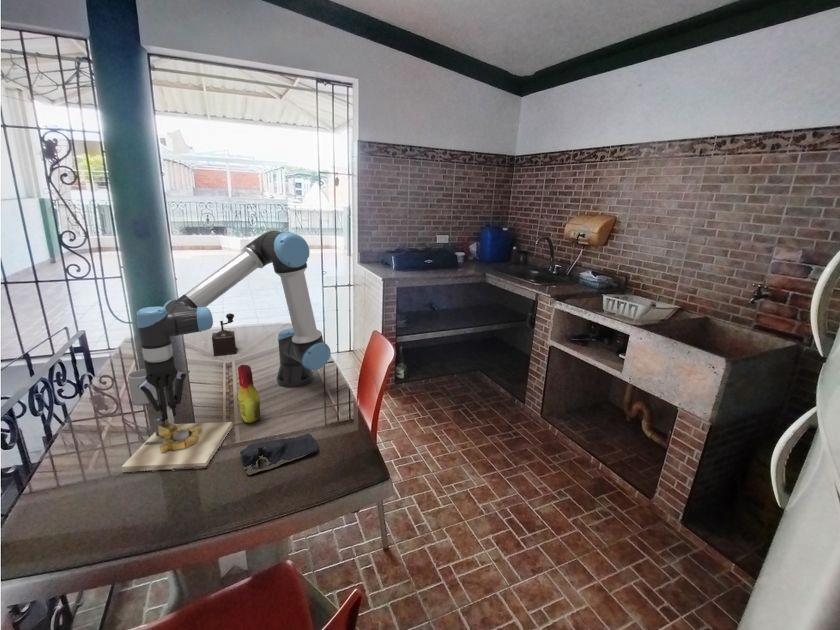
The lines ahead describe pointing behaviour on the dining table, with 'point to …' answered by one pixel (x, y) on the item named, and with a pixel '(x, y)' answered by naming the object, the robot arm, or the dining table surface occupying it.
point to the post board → (180, 458)
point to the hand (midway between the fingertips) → (170, 426)
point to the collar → (168, 431)
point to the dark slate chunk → (278, 450)
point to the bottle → (248, 395)
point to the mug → (136, 393)
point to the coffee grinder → (224, 340)
